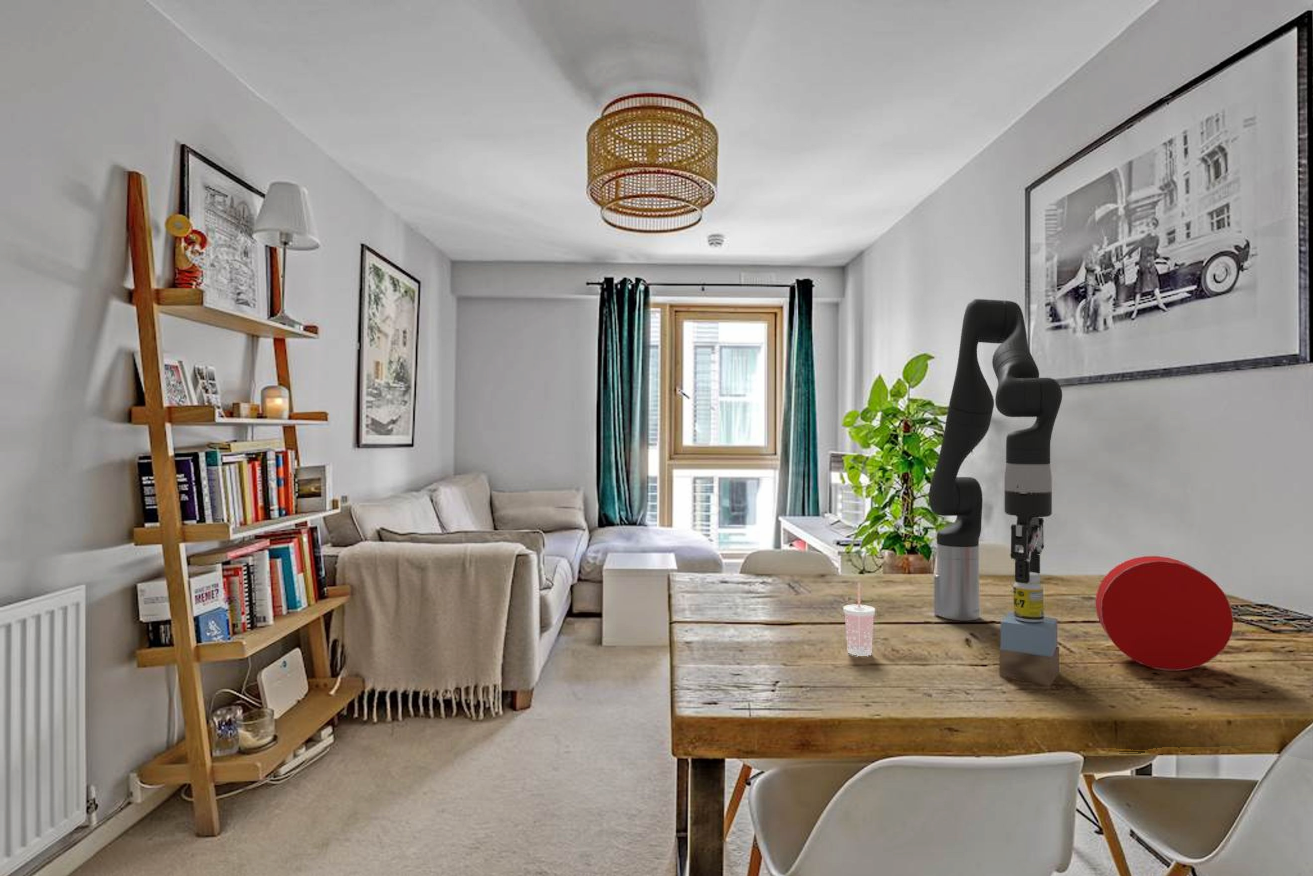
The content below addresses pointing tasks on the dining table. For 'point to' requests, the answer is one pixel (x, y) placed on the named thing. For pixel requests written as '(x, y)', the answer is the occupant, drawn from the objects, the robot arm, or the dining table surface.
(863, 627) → the beverage cup
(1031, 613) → the supplement bottle
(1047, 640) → the tower top block
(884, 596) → the dining table surface
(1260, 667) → the dining table surface
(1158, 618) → the red disc
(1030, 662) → the tower base block
